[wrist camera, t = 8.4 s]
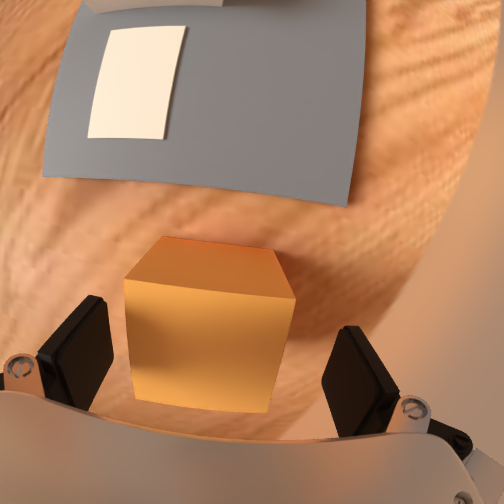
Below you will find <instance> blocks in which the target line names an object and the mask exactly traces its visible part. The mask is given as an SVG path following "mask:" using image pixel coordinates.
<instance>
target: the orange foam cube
mask: <svg viewBox="0 0 504 504" xmlns="http://www.w3.org/2000/svg"><path fill="white" fill-rule="evenodd" d="M124 297H125V315H126V328H127V340H128V350H129V358H130V366H131V374H132V381H133V388H134V394H135V399H140V400H145V401H151V402H156V403H162V404H168V405H175V406H182V407H189V408H197V409H206V410H217V411H229V412H246V413H267V410H268V406H269V403H270V400H271V396H272V393H273V389H274V385H275V382H276V378H277V374H278V371H279V367H280V363H281V359H282V356H283V352H284V348H285V344H286V340H287V336H288V332H289V328H290V324H291V320H292V316H293V311H294V307H295V303H296V297H295V295H294V293H293V291H292V289H291V287H290V285H289V282H288V280H287V278H286V276H285V274H284V272H283V270H282V268H281V266H280V263H279V261H278V259H277V257H276V255H275V253H274V251H273V250H272V249H264V248H255V247H247V246H239V245H231V244H222V243H214V242H206V241H197V240H189V239H180V238H172V237H163V236H162V237H161V238H160V239H159V240H158V241H157V242H156V243H155V244H154V245H153V247H152V248H151V249H150V250H149V251H148V252H147V253H146V254H145V255H144V256H143V258H142V259H141V260H140V261H139V262H138V263H137V264H136V265H135V267H134V268H133V269H132V270H131V271H130V272H129V273H128V275H127V276H126V277H125V278H124Z"/></svg>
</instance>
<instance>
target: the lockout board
mask: <svg viewBox="0 0 504 504" xmlns="http://www.w3.org/2000/svg"><path fill="white" fill-rule="evenodd" d="M365 42H366V0H82V3H81V5H80V7H79V10H78V12H77V15H76V17H75V20H74V23H73V25H72V28H71V31H70V34H69V37H68V40H67V43H66V46H65V49H64V52H63V56H62V59H61V63H60V66H59V70H58V74H57V78H56V82H55V86H54V91H53V96H52V101H51V106H50V112H49V118H48V124H47V131H46V139H45V148H44V159H43V174H42V177H68V178H98V179H118V180H134V181H148V182H161V183H173V184H183V185H194V186H203V187H212V188H221V189H230V190H238V191H246V192H253V193H261V194H268V195H275V196H281V197H288V198H294V199H301V200H307V201H313V202H319V203H325V204H330V205H336V206H341V207H346V205H347V200H348V194H349V189H350V183H351V177H352V170H353V164H354V157H355V151H356V143H357V136H358V128H359V119H360V110H361V100H362V90H363V77H364V62H365Z"/></svg>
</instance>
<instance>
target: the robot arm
mask: <svg viewBox="0 0 504 504" xmlns="http://www.w3.org/2000/svg"><path fill="white" fill-rule="evenodd" d="M113 359H114V353H113V346H112V340H111V333H110V325H109V317H108V308H107V303H106V302H105V301H104V300H103V298H102V297H98V296H93V295H88V296H87V297H86V298H85V299H84V300H83V301H82V302H81V304H80V305H79V306H78V307H77V308H76V309H75V310H74V311H73V312H72V313H71V314H70V315H69V316H68V318H67V319H66V320H65V321H64V322H63V323H62V324H61V325H60V326H59V327H58V329H57V330H56V331H55V332H54V333H53V334H52V335H51V337H50V338H49V339H48V340H47V341H46V342H45V344H44V345H43V346H42V347H41V348H40V349H39V351H38V355H37V356H36V357H35V358H34V357H33V356H31V355H29V354H17V355H14V356H12V357H10V358H9V359H8V360H7V361H6V362H5V364H4V369H3V372H4V373H0V504H497V503H498V501H499V499H500V497H501V495H502V493H503V491H504V467H503V466H502V465H500V464H499V463H497V462H496V461H495V460H493V459H492V458H490V457H489V456H487V455H486V454H485V453H483V452H482V451H480V450H479V449H477V448H476V449H475V450H473V443H472V440H471V439H470V437H469V436H468V435H467V434H466V433H464V432H462V431H460V430H458V429H455V428H453V427H450V426H448V425H445V424H443V423H441V422H438V421H436V420H433V419H431V418H430V417H431V410H430V407H429V405H428V404H427V403H426V402H425V401H424V400H423V399H421V398H419V397H416V396H410V395H407V396H403V397H402V398H401V397H400V395H399V392H400V390H399V389H398V387H397V386H396V384H395V382H394V381H393V379H392V377H391V376H390V374H389V372H388V371H387V369H386V368H385V366H384V364H383V363H382V361H381V360H380V358H379V356H378V355H377V353H376V352H375V350H374V349H373V347H372V346H371V344H370V343H369V341H368V339H367V338H366V336H365V335H364V333H363V332H362V330H361V328H360V327H359V326H344V328H343V329H340V330H339V332H338V335H337V338H336V341H335V344H334V347H333V349H332V352H331V355H330V358H329V360H328V363H327V366H326V368H325V371H324V374H323V376H322V382H321V383H322V387H323V390H324V393H325V396H326V399H327V402H328V405H329V408H330V411H331V414H332V417H333V420H334V423H335V426H336V429H337V433H338V436H339V438H328V439H314V440H244V439H228V438H217V437H207V436H198V435H191V434H184V433H177V432H171V431H165V430H160V429H155V428H150V427H145V426H140V425H136V424H131V423H127V422H123V421H119V420H115V419H112V418H108V417H104V416H101V415H97V414H94V413H91V412H88V410H89V408H90V405H91V403H92V401H93V399H94V397H95V395H96V393H97V391H98V389H99V387H100V385H101V383H102V381H103V380H104V378H105V376H106V374H107V372H108V370H109V368H110V366H111V364H112V362H113Z"/></svg>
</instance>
